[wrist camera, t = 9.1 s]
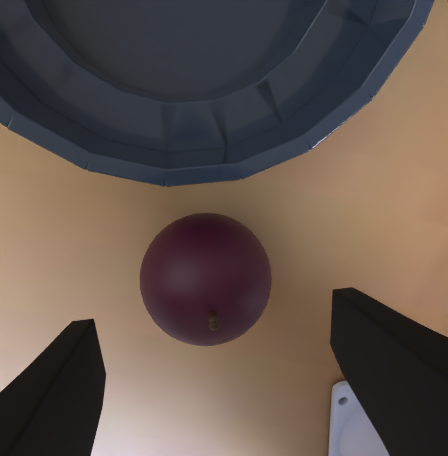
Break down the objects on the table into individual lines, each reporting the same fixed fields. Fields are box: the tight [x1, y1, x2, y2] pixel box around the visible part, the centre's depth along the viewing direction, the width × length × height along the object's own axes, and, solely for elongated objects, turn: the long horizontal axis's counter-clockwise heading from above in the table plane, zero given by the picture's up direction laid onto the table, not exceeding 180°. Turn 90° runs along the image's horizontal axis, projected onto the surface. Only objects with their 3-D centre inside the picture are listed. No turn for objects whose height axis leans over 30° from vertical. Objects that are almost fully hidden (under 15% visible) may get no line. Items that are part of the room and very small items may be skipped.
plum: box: [140, 213, 272, 346], centre depth 14 cm, size 5×5×6 cm
